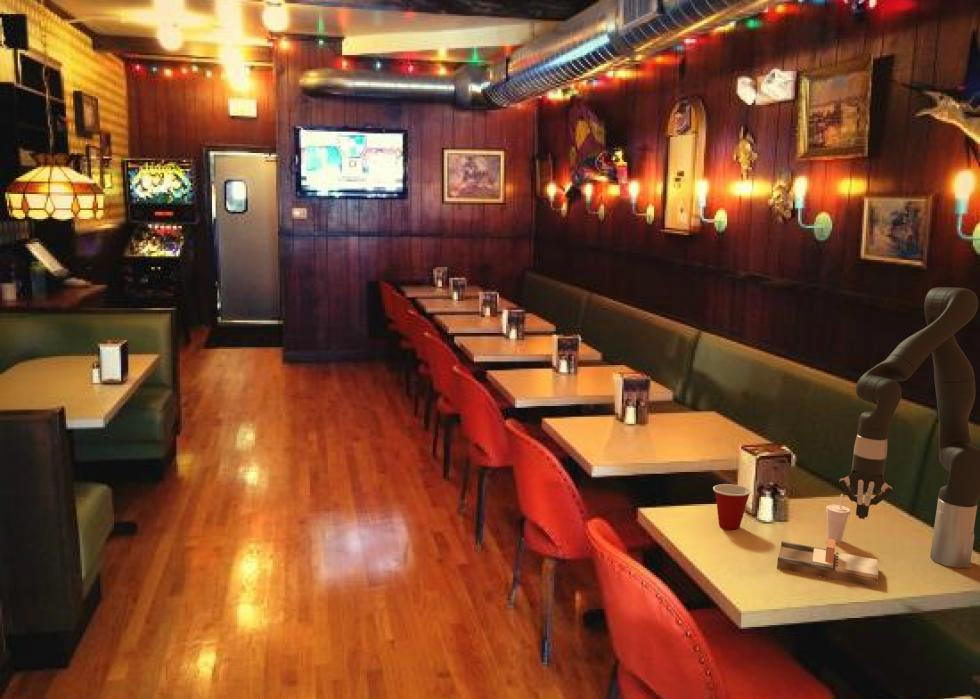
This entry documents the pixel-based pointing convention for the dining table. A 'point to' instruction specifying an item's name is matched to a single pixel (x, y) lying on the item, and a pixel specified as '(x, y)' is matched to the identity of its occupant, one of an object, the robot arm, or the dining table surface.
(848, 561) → the mandoline slicer
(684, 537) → the dining table surface
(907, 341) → the robot arm
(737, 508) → the plastic cup
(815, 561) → the white orange block
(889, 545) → the dining table surface
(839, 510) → the smoothie
